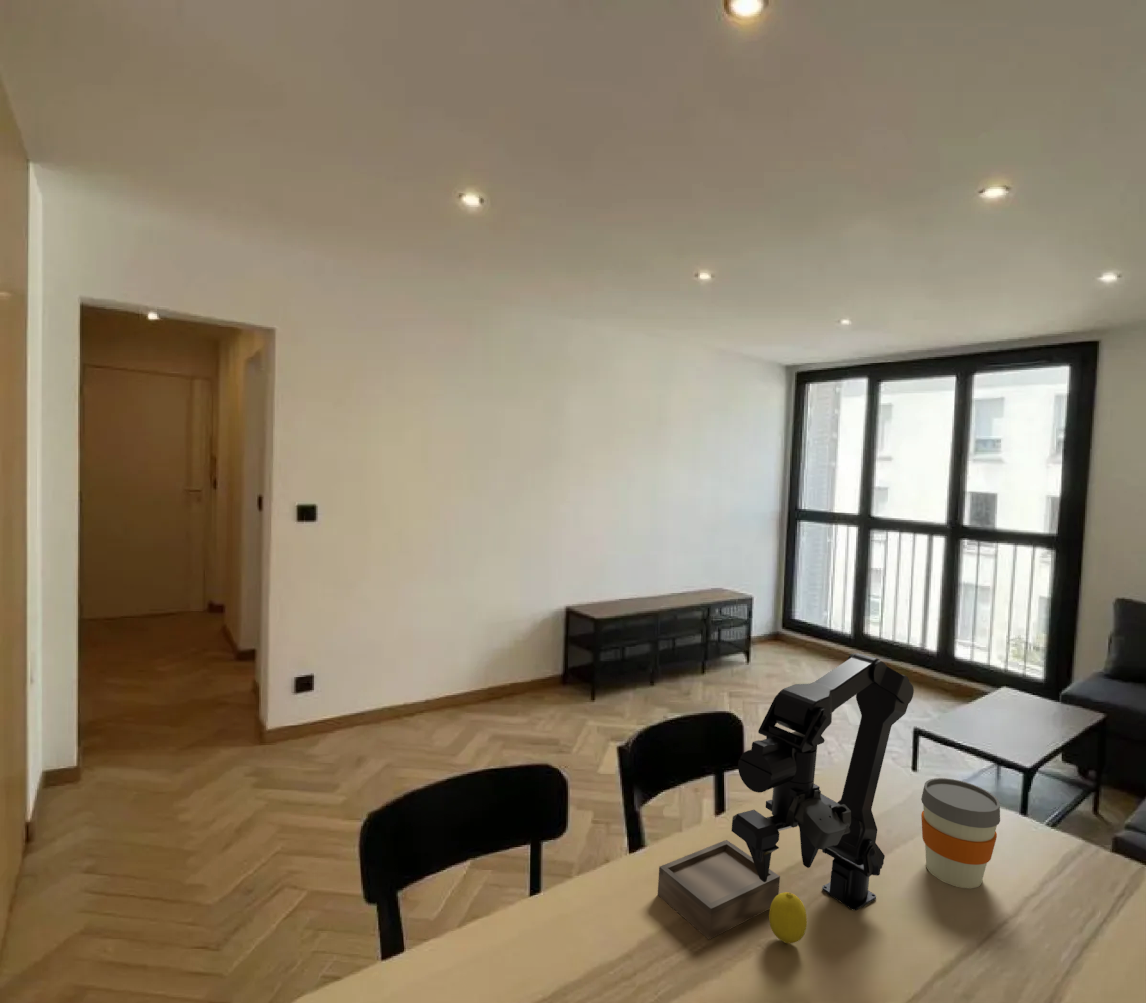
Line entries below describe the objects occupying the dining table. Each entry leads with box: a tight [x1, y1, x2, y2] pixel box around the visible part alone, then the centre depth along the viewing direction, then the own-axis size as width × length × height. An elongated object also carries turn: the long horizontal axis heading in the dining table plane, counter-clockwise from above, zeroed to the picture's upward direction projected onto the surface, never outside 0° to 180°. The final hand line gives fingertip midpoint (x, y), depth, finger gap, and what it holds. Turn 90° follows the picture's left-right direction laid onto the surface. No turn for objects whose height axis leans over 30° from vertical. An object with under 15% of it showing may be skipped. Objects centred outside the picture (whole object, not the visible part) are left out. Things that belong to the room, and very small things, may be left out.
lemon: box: [768, 891, 808, 944], centre depth 104 cm, size 6×6×8 cm
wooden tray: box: [657, 839, 781, 940], centre depth 114 cm, size 16×12×5 cm
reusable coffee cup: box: [920, 777, 1001, 889], centre depth 124 cm, size 13×12×15 cm
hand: (785, 873), depth 104 cm, fingers open, 9 cm apart
